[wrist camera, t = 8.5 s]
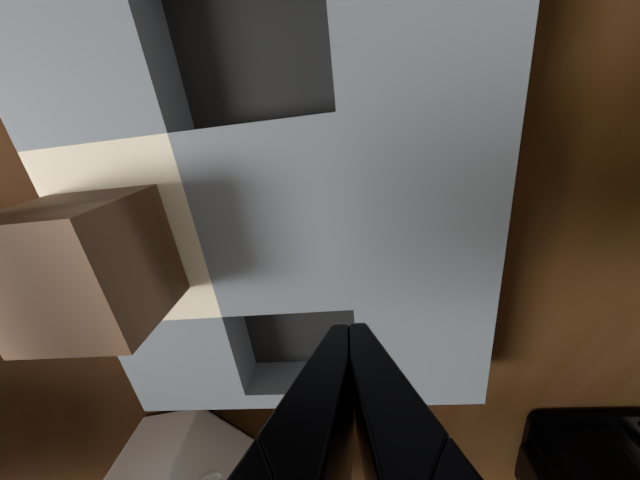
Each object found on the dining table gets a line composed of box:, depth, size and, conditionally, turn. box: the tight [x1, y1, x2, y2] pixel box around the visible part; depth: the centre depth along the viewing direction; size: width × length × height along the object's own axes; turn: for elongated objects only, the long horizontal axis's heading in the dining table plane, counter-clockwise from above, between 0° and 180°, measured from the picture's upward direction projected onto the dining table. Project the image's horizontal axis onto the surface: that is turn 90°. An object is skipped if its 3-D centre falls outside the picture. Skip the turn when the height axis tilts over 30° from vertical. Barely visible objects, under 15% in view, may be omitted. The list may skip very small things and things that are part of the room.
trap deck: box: [0, 0, 540, 411], centre depth 13 cm, size 18×20×2 cm
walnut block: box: [0, 184, 190, 360], centre depth 11 cm, size 5×5×4 cm
